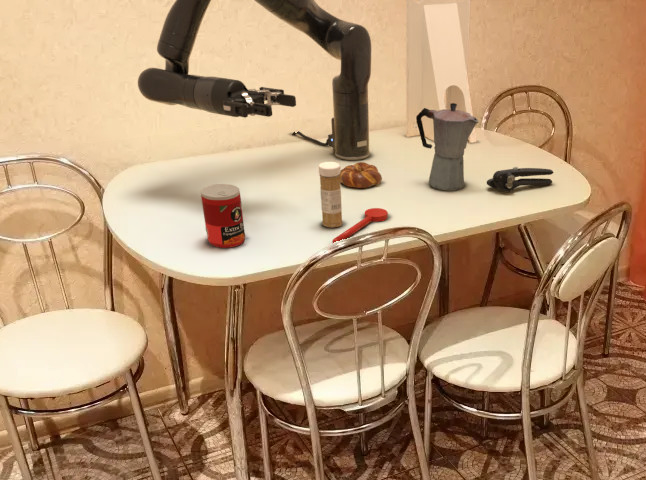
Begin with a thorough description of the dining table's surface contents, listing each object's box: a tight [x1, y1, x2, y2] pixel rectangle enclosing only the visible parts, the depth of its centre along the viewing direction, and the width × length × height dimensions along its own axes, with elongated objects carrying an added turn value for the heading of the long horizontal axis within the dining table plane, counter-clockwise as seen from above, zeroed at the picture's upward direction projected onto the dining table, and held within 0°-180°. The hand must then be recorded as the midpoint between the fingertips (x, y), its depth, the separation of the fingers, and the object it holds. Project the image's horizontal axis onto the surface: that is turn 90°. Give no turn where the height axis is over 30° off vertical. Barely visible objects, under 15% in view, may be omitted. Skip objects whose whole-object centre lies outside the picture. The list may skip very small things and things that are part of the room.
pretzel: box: [340, 161, 383, 189], centre depth 193 cm, size 12×11×4 cm
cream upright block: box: [405, 0, 477, 144], centre depth 215 cm, size 20×14×40 cm
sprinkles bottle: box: [318, 161, 344, 229], centre depth 167 cm, size 5×5×14 cm
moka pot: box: [415, 103, 480, 192], centre depth 187 cm, size 10×15×20 cm, turn 78°
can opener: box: [486, 166, 554, 193], centre depth 191 cm, size 18×7×6 cm, turn 113°
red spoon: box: [331, 207, 389, 244], centre depth 169 cm, size 20×5×1 cm, turn 154°
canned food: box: [200, 183, 246, 249], centre depth 159 cm, size 8×8×11 cm
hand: (283, 106), depth 161 cm, fingers open, 8 cm apart
